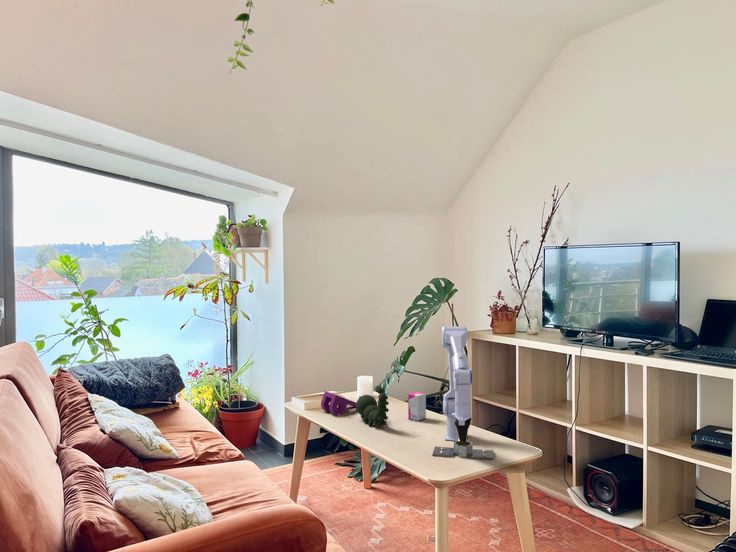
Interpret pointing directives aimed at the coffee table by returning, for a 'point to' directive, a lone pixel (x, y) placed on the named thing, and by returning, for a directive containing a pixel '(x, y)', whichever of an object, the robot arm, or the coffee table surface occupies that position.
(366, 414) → the toy figurine
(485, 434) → the coffee table surface
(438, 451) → the hinge
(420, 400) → the supplement box
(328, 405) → the mounting bracket
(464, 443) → the hinge pin
